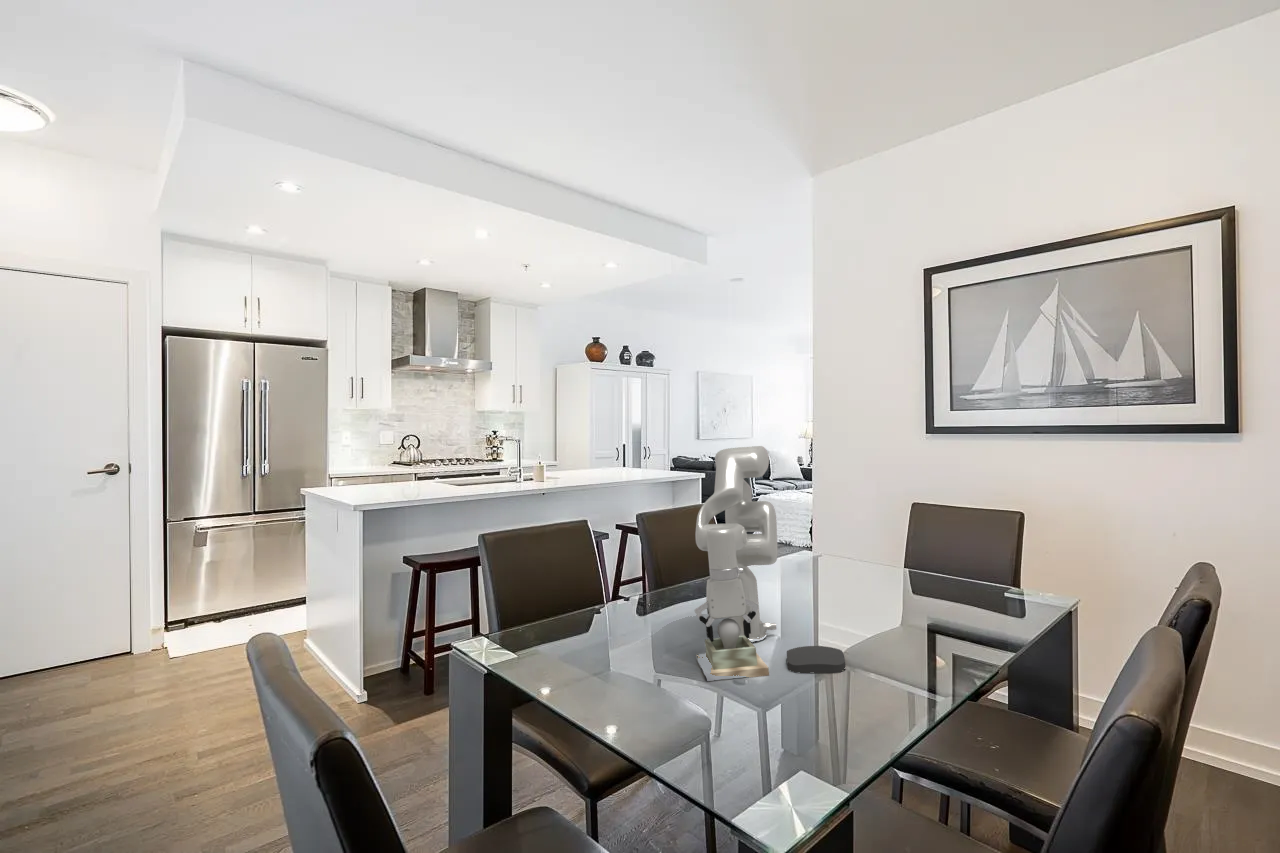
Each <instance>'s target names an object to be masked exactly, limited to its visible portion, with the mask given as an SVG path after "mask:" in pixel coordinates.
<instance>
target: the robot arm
mask: <svg viewBox="0 0 1280 853" xmlns="http://www.w3.org/2000/svg"><path fill="white" fill-rule="evenodd" d="M769 456H770V455H769V453H768V450H767V448H766V447H764V446H763V445H755V446H744V447H743V446H741V447H730V448H724V449H721V450H719V451H717V453H715V459H714V461H715V479H714V480H715V481H714V492H713V494H712V495H710V496H709V497H708V499H706V501H705V502H704V503H703V504H702V505H701V507H700V509H699V511H698V512H697V513H698V514H697V516H696V523H695V544H696V546H697V547H698V549H699V550H701V551H703V552H707V556H708V568H709V578H708V579H707V580H706V588H705V590H706V597H705V598H706V601H705V602H704V603H702V604H701V605H699V606H697V607H696V608H695V609H694V613H695V615H696V616H697V617H698V620H699V621H700V622H701V623H702V624H703V625H705V631H706V639H710V641H711V642H713V641H714V638H715V637H714V630H713V625H712V624H713V622H714V621H715V620H716V619H717V620H719V619H726V618H731V619H733V620H735V621H736V622H737V623H738V624H739V627H740V635H739V636H744V635H745V637H746V638H749V640H753V639H760V638H762V637H764V636H765V635H767V631H769V630H770V631H774V630H775V631H776V630H777V624H776V622H773V623H771V622H768V621H767V622H763V621H761V615H760V614H761V613H760V604H759V591H758V583H757V578H756V576H755V574H754V572H752V570H751V569H750V568H749V566H750V567H751V566H771V565H773V564H774V565H775V563H776V562H777V560H778V553H779V552H778V528H777V527H778V526H777V513H776V510H775V509H776V508H775V506H774V505H773V503H772V502H769V501H766V500H760V501H759V500H757V501H756V500H755V501H753V499H752V494H753V493H752V492H753V491H752V488H751V486H750V484H749V483H748V482H747V481H746V480H745V479H751V478H752V479H753V478H761V477H763V476H764V475H765V473H766V472H767V471H768V467H769V464H770V457H769ZM722 512H724V515H725V516H724V517H725V518H724V519H725V523H710V521H711V519H713V518H714V517H715V516H717V515H718V514H720V513H722ZM756 532H757V533H756ZM758 532H760V533H758ZM705 610H706V613H707V614H708V615H707V616H706V617H704V616H703V614H702V613H703V611H705ZM757 637H759V638H757Z"/></svg>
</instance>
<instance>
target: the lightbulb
mask: <svg viewBox="0 0 1280 853" xmlns="http://www.w3.org/2000/svg"><path fill="white" fill-rule="evenodd" d="M716 630H717V631H716V632H717V635H718V638H720V639H721V640H722V642H723V646H724V649H734V648H736V642H737V639H738V637H739V635H740V627H739V624H738V623H737V622H736V621H735V620H733V619H731V618H722V620H720V622H719V623H718V624H717V629H716Z"/></svg>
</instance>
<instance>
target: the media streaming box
mask: <svg viewBox="0 0 1280 853" xmlns="http://www.w3.org/2000/svg"><path fill="white" fill-rule="evenodd" d="M845 657H846V656H845V654H844V652H843V651H842V649H840V648H836V647H831V646H823V645H822V646H821V645H804V646H798V647H794V648H790V649H788V650H787V651H786V660H787V661H786V662H787V668H788V670H789V671H790V670H791V672H792V671H794V672H793V673H796V672H800V673H799V674H811V673H810V672H814V673H813V674H837V673H842V672H843V671H842V670H843V669H844V668H845V667H846V658H845ZM846 668H847V667H846ZM841 671H842V672H841Z"/></svg>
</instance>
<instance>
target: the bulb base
mask: <svg viewBox="0 0 1280 853" xmlns="http://www.w3.org/2000/svg"><path fill="white" fill-rule="evenodd" d="M713 638H714V641H713V642H711V641H710V639H709V638H706V639H704V643H705V645H704V647H705V653H706V657H707V658H708V660H709V662H710V663H711V665H712V668H711V673H710V674H712V675H715V676H733V675H734V676H736V675H737V676H738V675H739V676H746V677H749V678H758V677H759V678H760V677H767V676H770V670H769V669H770V668H769V666H768V665H767V664H766V663H765V661H764V660H763V658H761V656H760V655H759V654H758V653H757V647H756V646H755V645H754V643H751V641H750V640H749V639H748V638H746V637H745V635H744V636H739V637H738V639H737V642H736V648H734V649H724V646H723V642H722V640H721V639H720V637H713ZM697 656H698V655H697V654H696V657H697ZM698 658H700V657H699V656H698ZM702 658H703V657H702Z"/></svg>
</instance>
